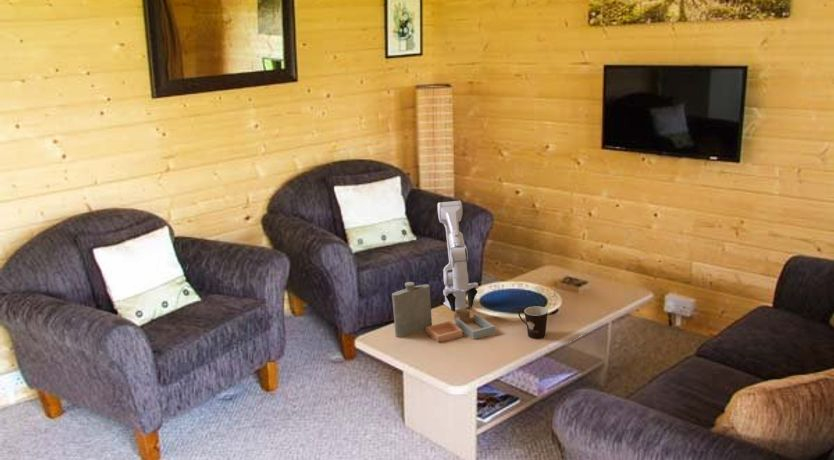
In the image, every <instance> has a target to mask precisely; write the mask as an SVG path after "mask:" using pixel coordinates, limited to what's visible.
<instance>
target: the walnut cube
mask: <svg viewBox="0 0 834 460" xmlns="http://www.w3.org/2000/svg"><path fill="white" fill-rule="evenodd" d="M470 313H471V312H470V310H469V309H468V308H465V307H463V308H459V309H455V312H454V315H453V316H454V320H455V319H456V318H459V319H460V320H461V321H463V322H464V323H465V324H466V323H468V322H471V315H470Z"/></svg>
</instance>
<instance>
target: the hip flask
mask: <svg viewBox="0 0 834 460" xmlns="http://www.w3.org/2000/svg"><path fill="white" fill-rule="evenodd" d="M404 287H405V288H404V289H403V288H402V289H401V290H398V291H395V292H392V293H391V298H392V310H393V320H394V321H393V323H394V335H395V337H396V338H399V339H400V338H403V337H406V336H409V335H410V334H411V335H412V334H414V333H418V332H421V331H424V330H425V331H426V327H428V326H432V325H433V319H432V305H431V303H432V302H431V292H430V289H431V288H430V285H429V284H427V283H425V284H419V285H415V282H413V281H407V282H405V283H404Z"/></svg>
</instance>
